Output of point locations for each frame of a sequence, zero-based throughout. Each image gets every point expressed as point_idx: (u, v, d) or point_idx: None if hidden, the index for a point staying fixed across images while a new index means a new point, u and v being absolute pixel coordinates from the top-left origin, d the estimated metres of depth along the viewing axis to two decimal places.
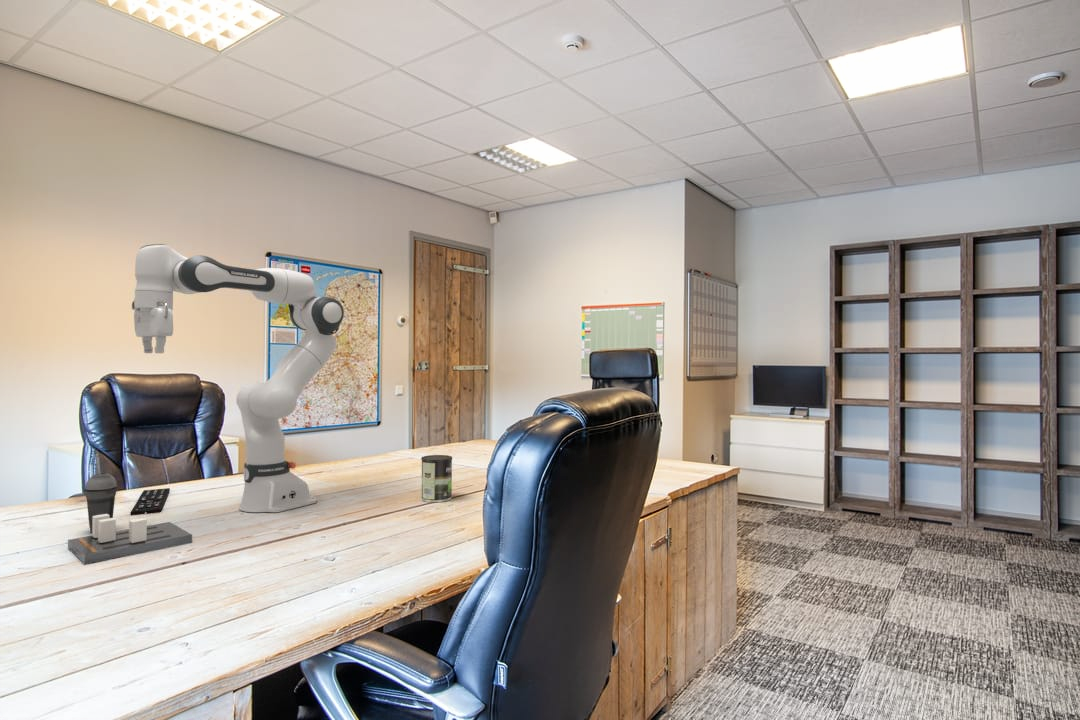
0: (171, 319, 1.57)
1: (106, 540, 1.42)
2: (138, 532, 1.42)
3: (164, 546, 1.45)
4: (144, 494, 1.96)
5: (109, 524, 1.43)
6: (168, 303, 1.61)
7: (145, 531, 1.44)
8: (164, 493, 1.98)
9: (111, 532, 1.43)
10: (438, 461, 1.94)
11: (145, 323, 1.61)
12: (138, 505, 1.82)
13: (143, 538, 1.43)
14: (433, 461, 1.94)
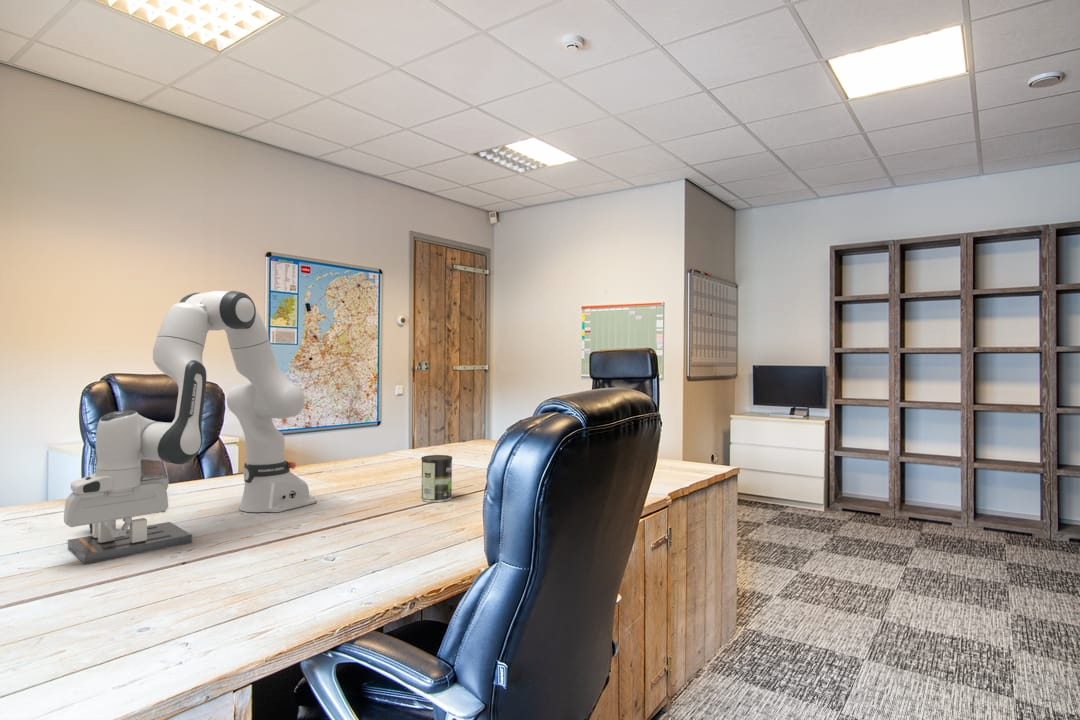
0: None
1: (106, 540, 1.42)
2: (138, 531, 1.43)
3: (164, 546, 1.45)
4: None
5: None
6: None
7: (145, 531, 1.44)
8: None
9: None
10: (438, 461, 1.94)
11: (116, 505, 1.39)
12: None
13: (143, 538, 1.43)
14: (433, 461, 1.94)
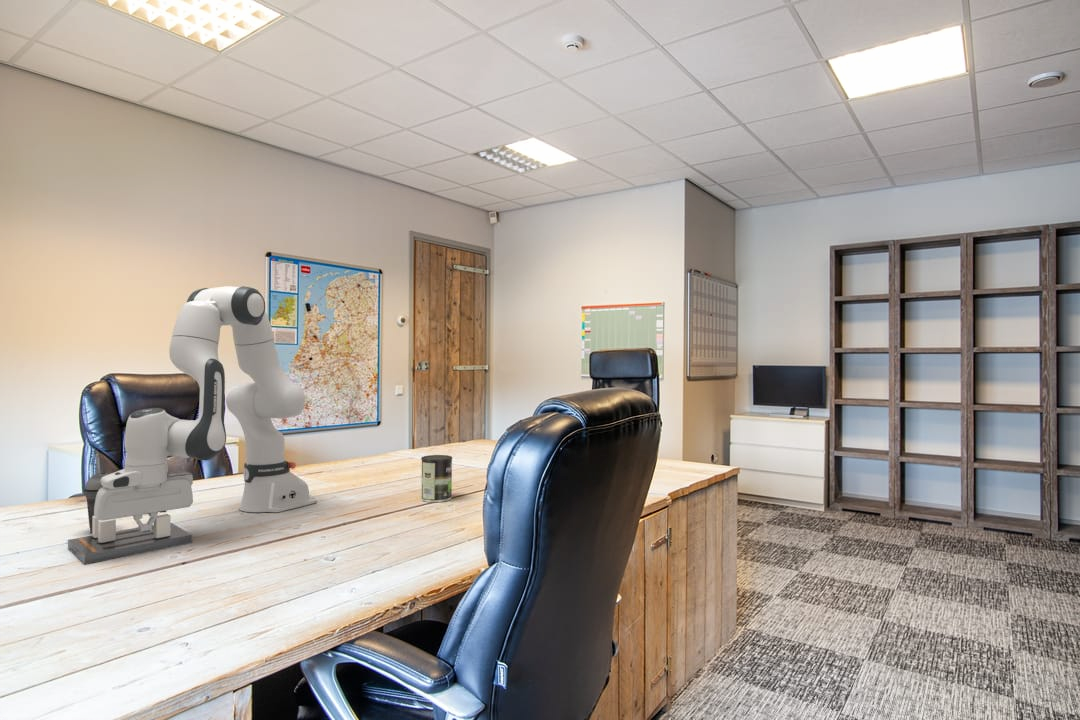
0: None
1: (106, 540, 1.42)
2: (162, 527, 1.46)
3: (164, 546, 1.45)
4: None
5: (109, 524, 1.43)
6: None
7: (169, 527, 1.48)
8: None
9: (111, 532, 1.43)
10: (438, 461, 1.94)
11: (144, 500, 1.43)
12: None
13: (167, 533, 1.47)
14: (433, 461, 1.94)
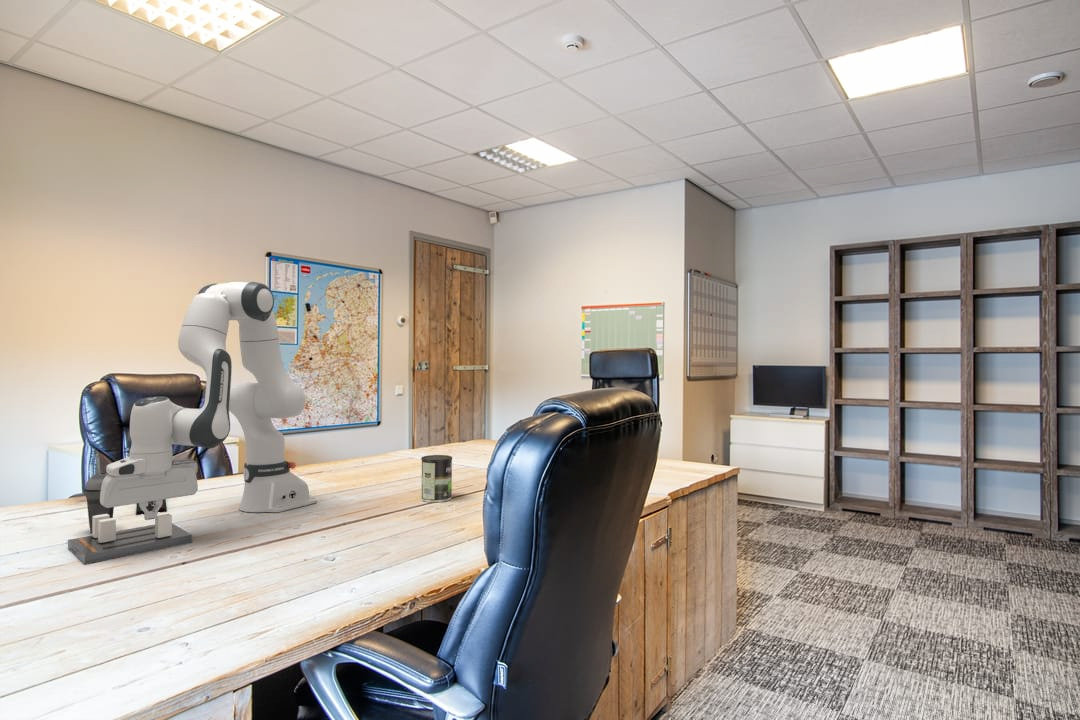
0: None
1: (106, 540, 1.42)
2: (163, 527, 1.47)
3: (164, 546, 1.45)
4: None
5: (109, 524, 1.43)
6: None
7: (170, 526, 1.48)
8: None
9: (111, 532, 1.43)
10: (438, 461, 1.94)
11: (149, 487, 1.44)
12: None
13: (168, 533, 1.47)
14: (433, 461, 1.94)
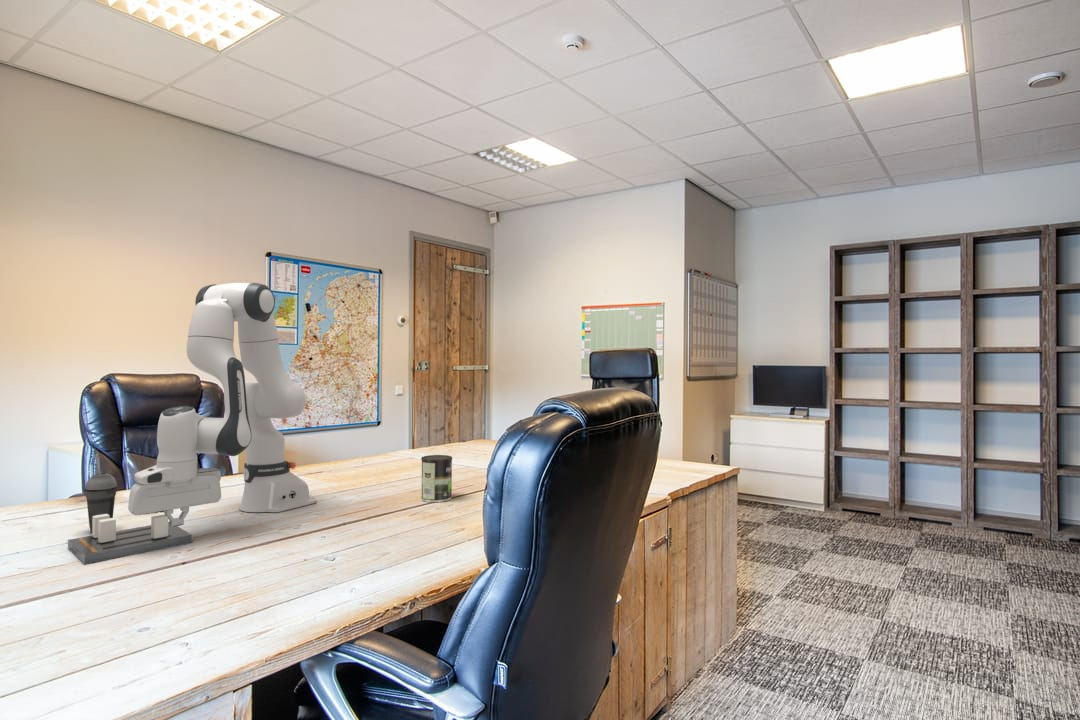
0: None
1: (106, 540, 1.42)
2: (160, 527, 1.46)
3: (164, 546, 1.45)
4: None
5: (109, 524, 1.43)
6: None
7: (167, 527, 1.47)
8: None
9: (111, 532, 1.43)
10: (438, 461, 1.94)
11: (175, 495, 1.48)
12: None
13: (165, 534, 1.47)
14: (433, 461, 1.94)
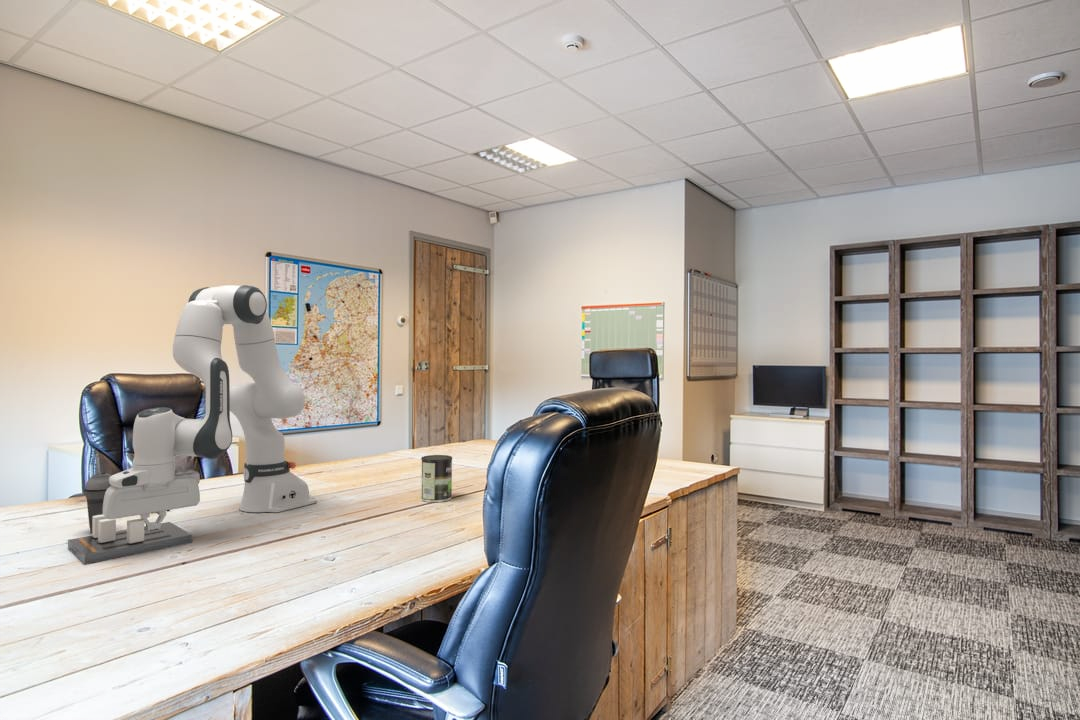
0: None
1: (106, 540, 1.42)
2: (135, 532, 1.42)
3: (164, 546, 1.45)
4: None
5: (109, 524, 1.43)
6: None
7: (143, 531, 1.43)
8: None
9: (111, 532, 1.43)
10: (438, 461, 1.94)
11: (152, 498, 1.44)
12: None
13: (141, 538, 1.43)
14: (433, 461, 1.94)
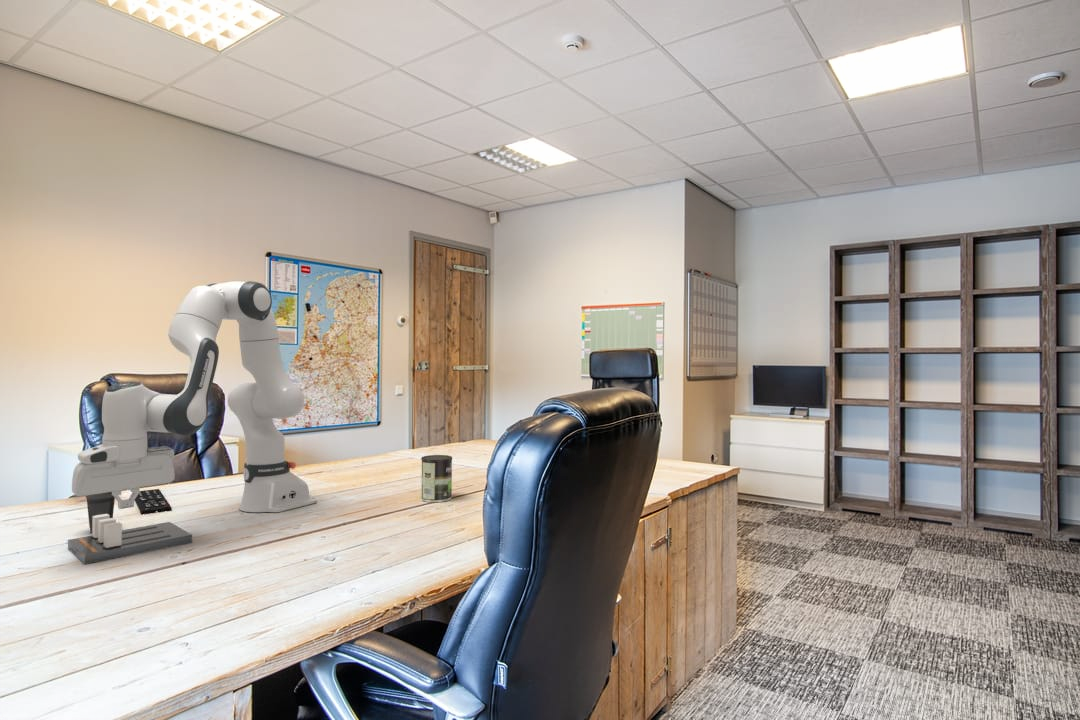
0: None
1: None
2: (112, 536, 1.39)
3: (164, 546, 1.45)
4: (137, 495, 1.95)
5: None
6: None
7: (120, 536, 1.40)
8: (158, 493, 1.97)
9: None
10: (438, 461, 1.94)
11: (123, 475, 1.40)
12: (143, 505, 1.82)
13: (118, 543, 1.40)
14: (433, 461, 1.94)
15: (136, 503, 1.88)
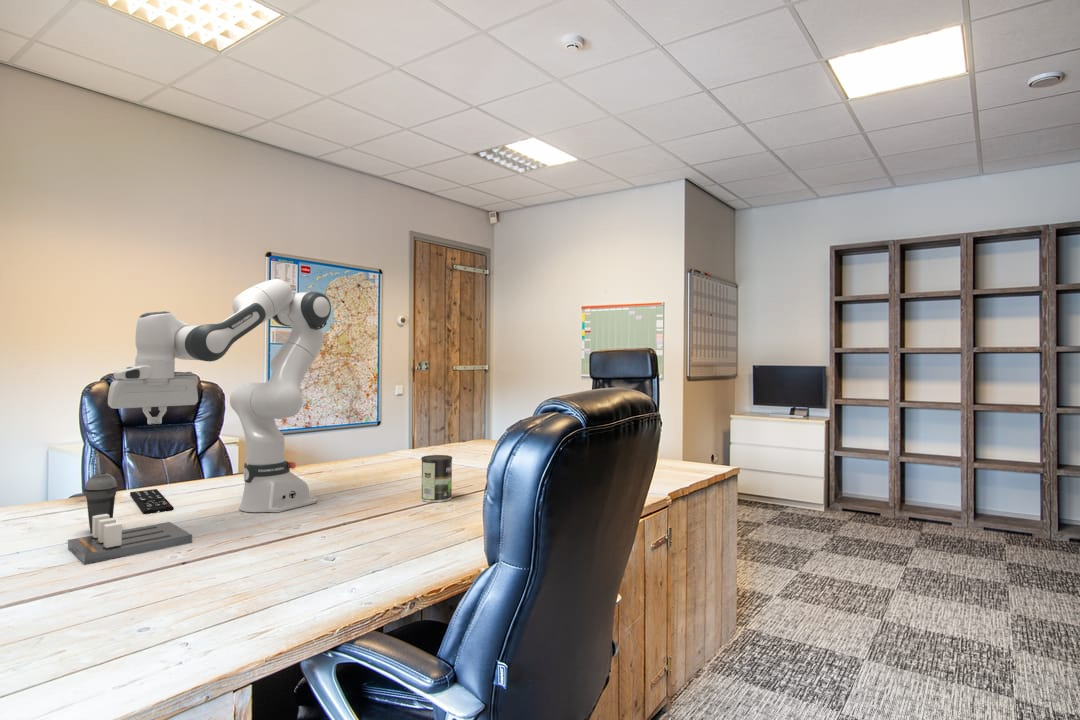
0: None
1: None
2: (112, 536, 1.39)
3: (164, 546, 1.45)
4: (136, 495, 1.94)
5: None
6: None
7: (120, 536, 1.40)
8: (157, 493, 1.97)
9: None
10: (438, 461, 1.94)
11: (153, 393, 1.55)
12: (144, 505, 1.82)
13: (118, 543, 1.40)
14: (433, 461, 1.94)
15: (136, 503, 1.87)
